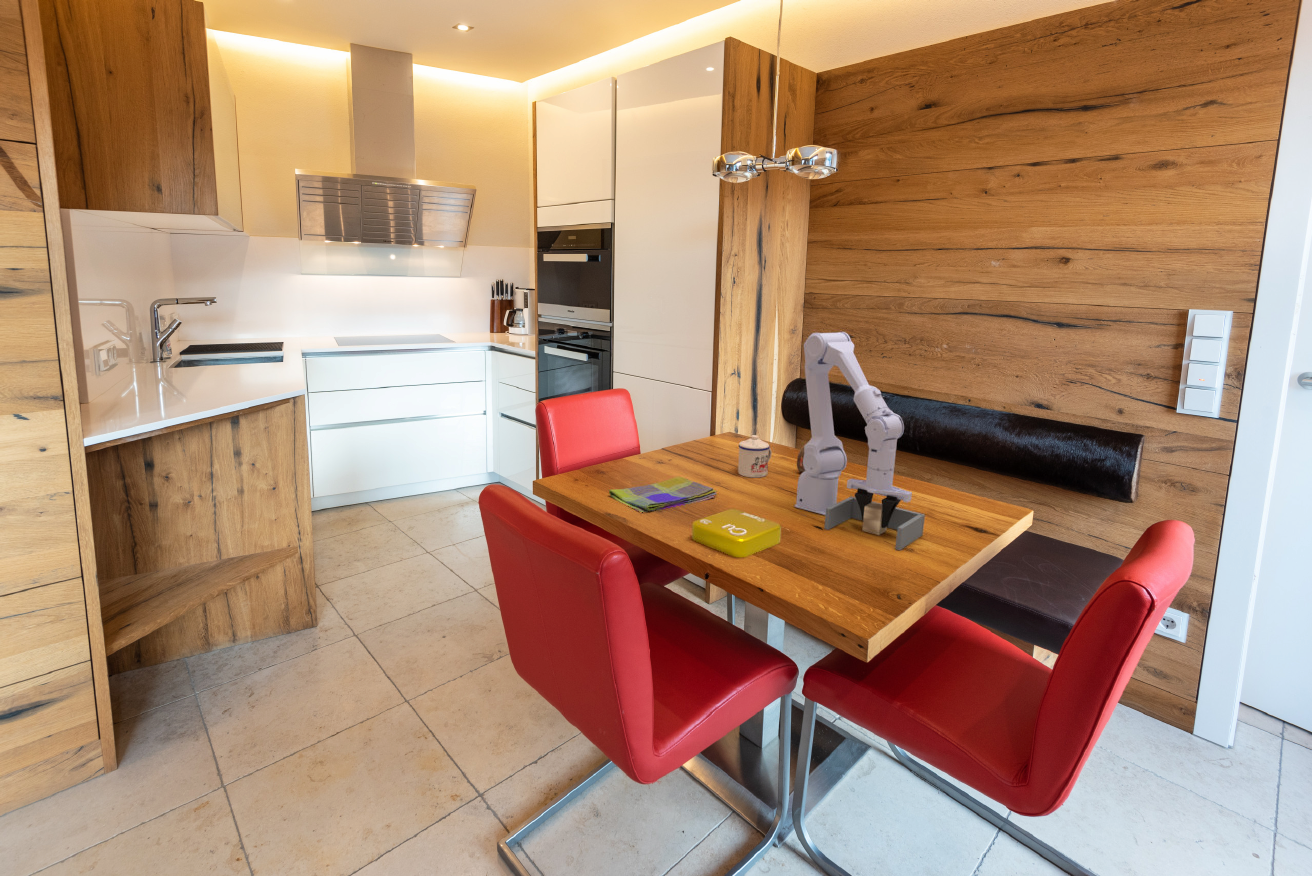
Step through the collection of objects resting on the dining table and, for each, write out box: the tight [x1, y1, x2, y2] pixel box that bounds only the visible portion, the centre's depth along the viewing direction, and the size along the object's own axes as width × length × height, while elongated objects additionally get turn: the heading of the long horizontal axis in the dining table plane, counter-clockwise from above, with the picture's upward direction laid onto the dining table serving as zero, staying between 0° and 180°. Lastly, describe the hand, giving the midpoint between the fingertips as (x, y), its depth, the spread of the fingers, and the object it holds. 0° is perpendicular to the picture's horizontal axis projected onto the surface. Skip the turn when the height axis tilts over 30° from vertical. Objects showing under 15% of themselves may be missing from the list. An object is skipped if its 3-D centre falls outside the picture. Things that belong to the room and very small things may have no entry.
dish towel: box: [608, 476, 718, 513], centre depth 176 cm, size 18×24×3 cm
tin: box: [796, 444, 828, 473], centre depth 203 cm, size 15×3×8 cm, turn 141°
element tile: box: [691, 508, 782, 559], centre depth 148 cm, size 15×15×5 cm
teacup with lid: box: [737, 434, 773, 479], centre depth 198 cm, size 12×9×12 cm
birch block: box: [861, 501, 888, 536], centre depth 154 cm, size 4×4×6 cm
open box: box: [823, 495, 926, 551], centre depth 153 cm, size 18×12×5 cm
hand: (875, 524), depth 154 cm, fingers closed on birch block, 4 cm apart
